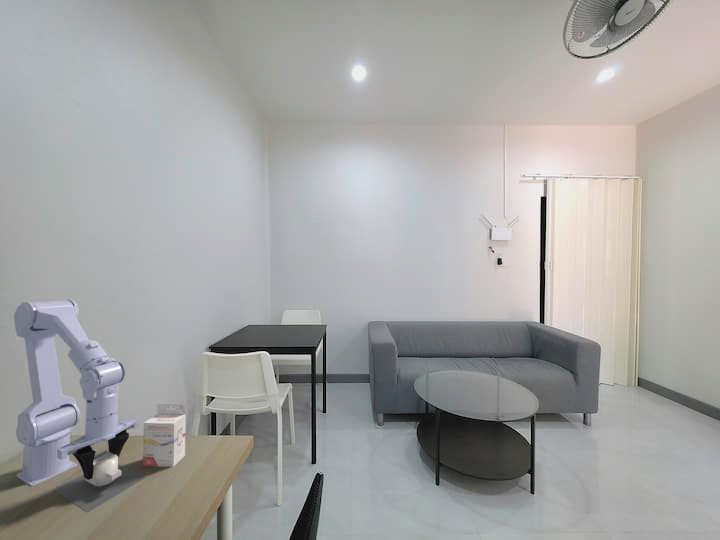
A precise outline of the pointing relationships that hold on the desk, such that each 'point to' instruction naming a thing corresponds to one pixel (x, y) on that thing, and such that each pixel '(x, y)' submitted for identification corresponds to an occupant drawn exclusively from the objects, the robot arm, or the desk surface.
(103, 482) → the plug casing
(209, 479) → the desk surface
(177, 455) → the ink cartridge box
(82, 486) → the desk mat
